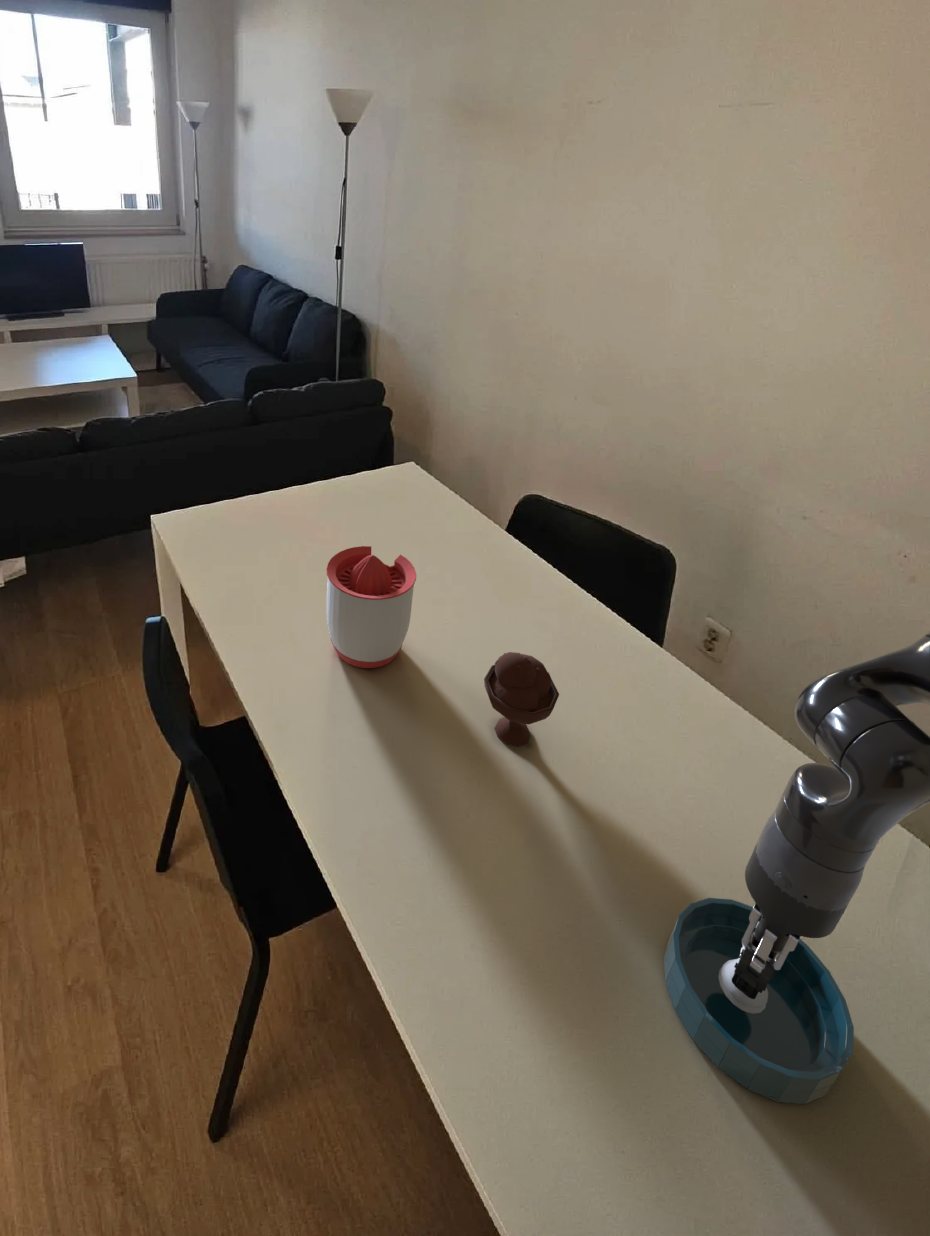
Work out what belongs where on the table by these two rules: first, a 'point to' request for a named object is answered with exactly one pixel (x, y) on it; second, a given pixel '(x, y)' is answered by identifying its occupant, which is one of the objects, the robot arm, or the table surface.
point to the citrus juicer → (368, 606)
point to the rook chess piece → (735, 994)
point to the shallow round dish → (761, 1042)
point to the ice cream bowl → (519, 695)
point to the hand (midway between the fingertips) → (749, 974)
